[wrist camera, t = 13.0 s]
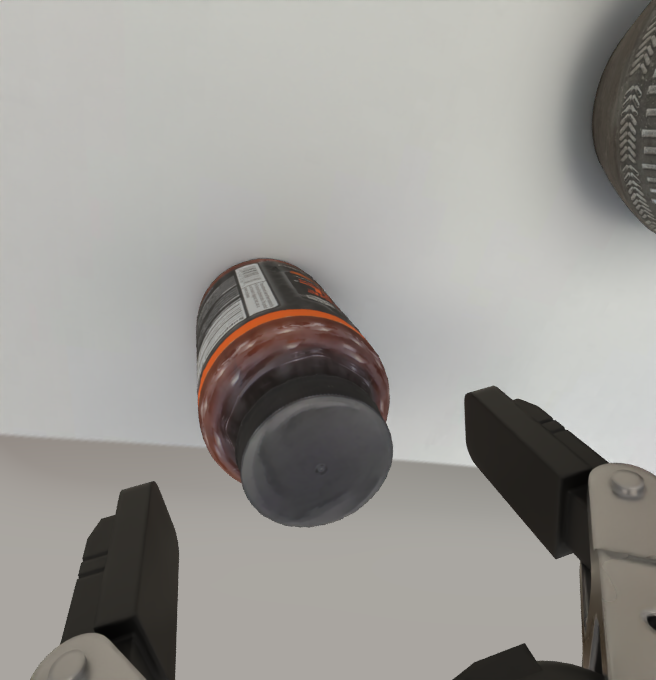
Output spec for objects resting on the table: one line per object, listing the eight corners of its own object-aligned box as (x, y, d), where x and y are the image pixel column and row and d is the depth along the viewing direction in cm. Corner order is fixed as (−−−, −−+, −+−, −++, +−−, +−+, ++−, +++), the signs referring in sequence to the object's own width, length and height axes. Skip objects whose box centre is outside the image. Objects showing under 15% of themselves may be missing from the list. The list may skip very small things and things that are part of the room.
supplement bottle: (350, 316, 23) (472, 455, 13) (261, 399, 24) (313, 593, 14) (264, 225, 21) (335, 311, 11) (165, 320, 21) (144, 489, 11)
